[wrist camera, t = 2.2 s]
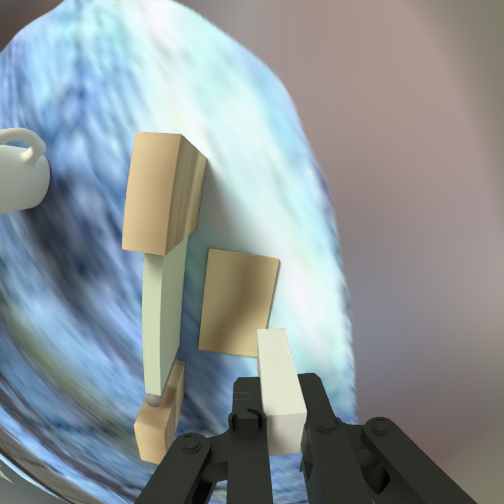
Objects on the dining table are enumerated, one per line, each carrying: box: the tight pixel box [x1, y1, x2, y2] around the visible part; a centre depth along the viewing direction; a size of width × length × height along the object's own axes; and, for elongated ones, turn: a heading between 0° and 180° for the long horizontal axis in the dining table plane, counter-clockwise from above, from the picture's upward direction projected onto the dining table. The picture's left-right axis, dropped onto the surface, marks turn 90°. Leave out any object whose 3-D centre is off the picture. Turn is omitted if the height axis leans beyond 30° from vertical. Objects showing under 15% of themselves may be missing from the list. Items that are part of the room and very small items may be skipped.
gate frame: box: [122, 132, 279, 464], centre depth 19 cm, size 10×25×10 cm, turn 171°
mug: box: [0, 128, 50, 215], centre depth 15 cm, size 10×7×12 cm, turn 117°
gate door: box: [142, 237, 188, 407], centre depth 20 cm, size 12×1×8 cm, turn 171°
